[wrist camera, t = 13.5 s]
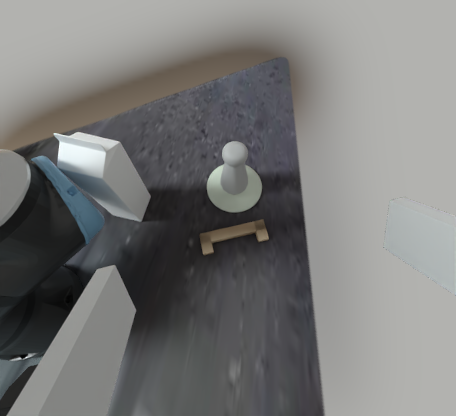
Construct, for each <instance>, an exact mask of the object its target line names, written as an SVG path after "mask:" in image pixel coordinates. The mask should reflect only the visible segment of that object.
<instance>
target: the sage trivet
mask: <svg viewBox="0 0 456 416" xmlns="http://www.w3.org/2000/svg"><path fill="white" fill-rule="evenodd" d="M245 166H246V171H247V176H248V185H247V187H246V189H245V190H244V191H243V192H241V193H239V194H236V195H232V194H229V193H227V192H226V191H224V190H223V188H222V186H221V184H220V180H221V174H222V171H223V167H224V165H222V166H220V167H218V168H217V169H215V170H214V171H213V172H212V174H211V175H210V177H209V179H208V182H207V193H208V196H209V198H210V200H211V202H212V203H213V204H214V205H215V206H216V207H217V208H219V209H221V210H223V211H226V212H230V213H239V212H243V211H246V210H248V209H250V208H252V207H253V206H254V205H255V204H256V203H257V201H258V200H259V198H260V195H261V192H262V183H261V180H260V177H259V176H258V174H257V173H256V172H255V171H254V170H253V169H252V168H250V167H249V166H247V165H245Z"/></svg>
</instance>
